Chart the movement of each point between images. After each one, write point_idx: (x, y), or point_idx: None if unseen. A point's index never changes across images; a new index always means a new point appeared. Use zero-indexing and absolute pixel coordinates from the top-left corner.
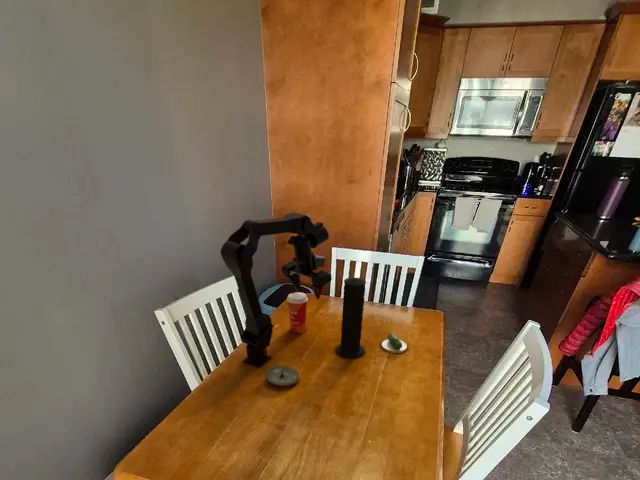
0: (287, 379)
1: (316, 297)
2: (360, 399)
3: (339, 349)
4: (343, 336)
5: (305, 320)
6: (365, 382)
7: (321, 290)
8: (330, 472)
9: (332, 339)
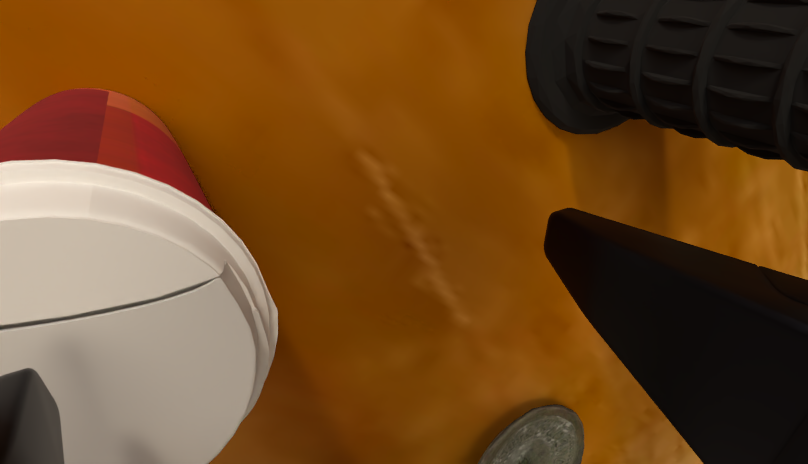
0: (550, 453)
1: (580, 292)
2: (769, 262)
3: (571, 102)
4: (688, 128)
5: (176, 146)
6: (758, 182)
7: (750, 278)
8: None
9: (434, 19)
